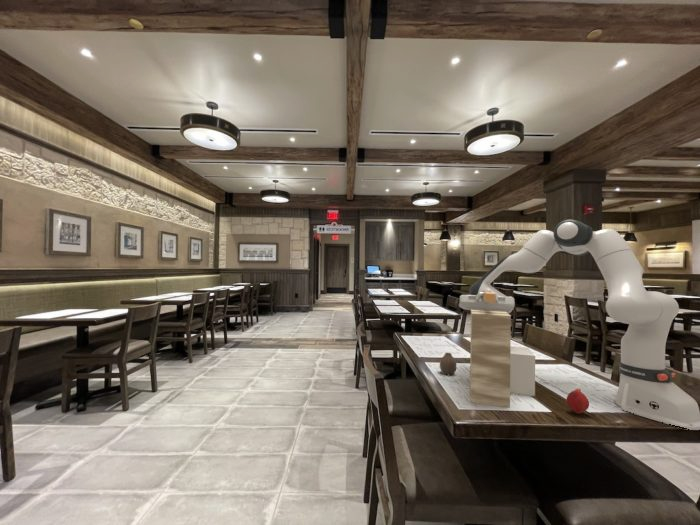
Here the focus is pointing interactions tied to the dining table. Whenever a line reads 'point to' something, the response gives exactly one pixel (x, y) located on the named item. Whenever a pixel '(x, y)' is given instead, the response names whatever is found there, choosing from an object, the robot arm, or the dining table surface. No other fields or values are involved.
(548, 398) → the dining table surface
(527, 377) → the white box
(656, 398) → the robot arm
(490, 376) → the tall stand
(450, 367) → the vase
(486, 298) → the orange bar
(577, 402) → the onion
